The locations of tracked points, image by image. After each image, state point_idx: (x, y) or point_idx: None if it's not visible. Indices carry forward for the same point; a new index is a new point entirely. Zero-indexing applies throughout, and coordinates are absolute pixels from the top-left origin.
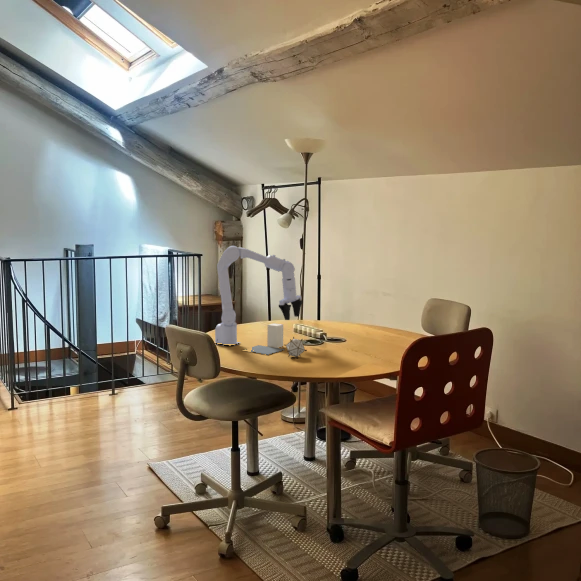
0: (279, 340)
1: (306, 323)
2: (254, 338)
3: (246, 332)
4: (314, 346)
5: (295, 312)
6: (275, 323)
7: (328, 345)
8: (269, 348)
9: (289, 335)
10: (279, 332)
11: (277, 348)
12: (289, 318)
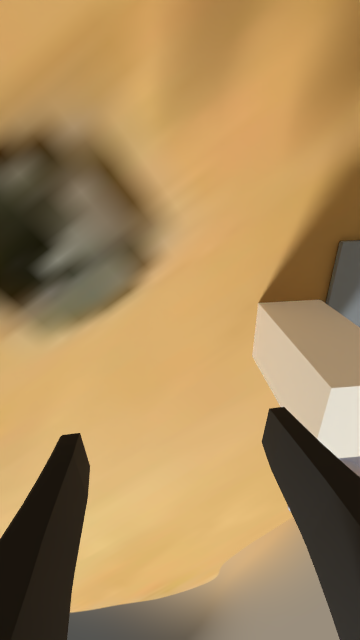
0: (316, 319)
1: None
2: (179, 482)
3: (109, 549)
4: (132, 138)
5: (75, 512)
6: None
7: (15, 47)
8: (355, 317)
9: (7, 436)
10: (350, 347)
11: (339, 286)
12: (283, 417)
